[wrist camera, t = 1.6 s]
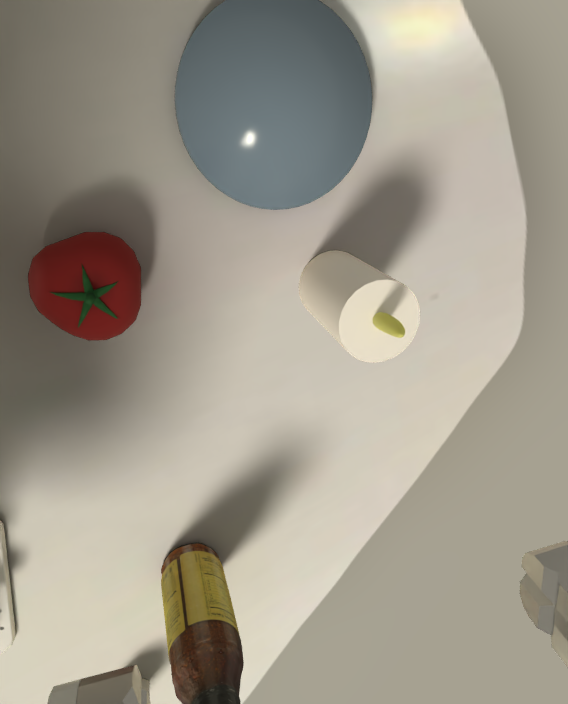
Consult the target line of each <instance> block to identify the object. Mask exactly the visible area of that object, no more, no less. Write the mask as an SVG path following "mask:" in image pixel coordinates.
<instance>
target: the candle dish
mask: <svg viewBox="0 0 568 704" xmlns="http://www.w3.org/2000/svg"><path fill="white" fill-rule="evenodd" d="M175 110H176V118H177V123H178V127H179V131H180V134H181V137H182V140H183V143H184V145H185V147H186V149H187V151H188V153H189V155H190V157H191V159H192V160H193V162H194V163H195V165H196V167H197V168H198V169H199V171H200V172H201V173H202V174H203V175H204V176H205V178H206V179H207V180H208V181H209V182H210V183H212V184H213V185H214V186H215V187H216V188H217V189H219V190H220V191H221V192H223V193H224V194H226V195H227V196H229V197H231V198H233V199H235V200H236V201H238V202H241V203H243V204H246V205H249V206H252V207H257V208H261V209H271V210H279V209H289V208H294V207H299V206H302V205H305V204H308V203H310V202H312V201H314V200H316V199H318V198H320V197H322V196H323V195H325V194H326V193H328V192H329V191H330V190H332V189H333V188H334V187H335V186H336V185H337V184H338V183H339V182H340V181H341V180H342V179H343V178H344V177H345V176H346V175H347V173H348V172H349V171H350V169H351V168H352V166H353V165H354V163H355V162H356V160H357V158H358V156H359V154H360V152H361V150H362V148H363V145H364V143H365V140H366V137H367V133H368V130H369V126H370V119H371V112H372V90H371V81H370V76H369V71H368V67H367V64H366V61H365V58H364V55H363V53H362V50H361V48H360V46H359V44H358V42H357V40H356V39H355V37H354V35H353V34H352V32H351V30H350V29H349V28H348V27H347V25H346V24H345V23H344V22H343V20H342V19H341V18H340V17H339V16H338V15H337V14H336V13H335V12H334V11H333V10H332V9H330V8H329V7H327V6H326V5H325V4H323V3H322V2H321V1H319V0H226V1H224V2H223V3H221V4H220V5H218V6H217V7H215V8H214V9H213V10H212V11H211V12H210V13H209V14H208V15H207V16H206V17H205V18H204V19H203V20H202V22H201V23H200V24H199V25H198V27H197V28H196V29H195V31H194V33H193V34H192V36H191V38H190V39H189V41H188V43H187V45H186V47H185V50H184V52H183V55H182V57H181V60H180V64H179V67H178V71H177V77H176V84H175Z"/></svg>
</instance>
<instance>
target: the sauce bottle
mask: <svg viewBox="0 0 568 704" xmlns="http://www.w3.org/2000/svg"><path fill="white" fill-rule="evenodd" d="M161 573H162V579H161V586H162V597H163V606H164V615H165V625H166V635H167V646H168V656H169V661H170V664H171V671H172V681H173V684H174V687H175V693H176V696H177V698H178V699H179V700H180V701H181V702H182V703H183V704H240V698H239V689H240V679H241V674H242V670H243V653H242V645H241V640H240V636H239V632H238V627H237V623H236V619H235V615H234V611H233V606H232V602H231V598H230V594H229V590H228V586H227V583H226V579H225V574H224V570H223V566H222V564H221V562H220V560H219V557H218V555H217V553H216V552H215V551H213V550H212V549H211V548H210V547H207V546H206V545H203V544H199V543H195V544H189V545H185V546H182V547H179V548H177V549H175V550H174V551H172V552H171V553H170V554H169V555H168V556H167V558H166V560H165V561H164V563H163V566H162V569H161Z"/></svg>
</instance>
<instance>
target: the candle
mask: <svg viewBox="0 0 568 704" xmlns="http://www.w3.org/2000/svg"><path fill="white" fill-rule="evenodd" d="M299 295H300V298H301V301H302V303H303V305H304V306H305V308H306V309H307V310H308V311H309V312H310V313H311V314H312V315H313V316H314V317H315V318H316V320H317V321H318V322H319V323H320V324H321V325H322V326H323V327H324V328H325V329H326V330H327V331H328V332H329V333H330V334H331V335H332V336H333V337H334V338H335V339H336V340H337V341H338V342H339V343H340V345H341V346H342V347H343V348H344V349H345V350H346V351H347V352H348V353H350V354H351V355H352V356H353V357H354V358H356V359H359V360H361V361H363V362H371V363H375V362H383V361H386V360H388V359H391V358H393V357H395V356H396V355H398V354H399V353H401V352H402V351H403V350H404V349H405V348H406V347H407V346H408V345H409V344H410V343H411V341H412V339H413V338H414V336H415V334H416V332H417V329H418V326H419V322H420V309H419V304H418V301H417V299H416V297H415V295H414V293H413V292H412V291H411V290H410V289H409V288H408V287H407V286H406V285H404V284H402V283H400V282H399V281H397V280H395V279H393V278H391V277H390V276H388V275H386V274H384V273H383V272H381V271H379V270H377V269H376V268H374V267H372V266H370V265H369V264H367V263H365V262H363V261H362V260H360V259H358V258H356V257H354V256H353V255H351V254H349V253H347V252H344V251H339V250H334V251H327V252H324V253H321V254H319V255H318V256H316V257H315V258H313V259H312V260H311V261H310V262H309V263H308V264H307V265H306V267H305V268H304V270H303V272H302V274H301V277H300V282H299Z"/></svg>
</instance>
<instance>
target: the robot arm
mask: <svg viewBox="0 0 568 704" xmlns="http://www.w3.org/2000/svg"><path fill="white" fill-rule="evenodd" d="M521 566H522V568H523V569H524V570H525V571H526V574H525V576H524V577H523V579H522V580H521V581H520V597H521V600H522V603H523V606H524V609H525V610H526V612H527V614H528V616H529V618H530V619H531V620H532V622H533V623H534V624H535V626H536V627H537V628H538V629H540V630H542V631H544V632H546V633H548V634H550V635H551V645H552V648H553V649H554V651H555V652H556V653H557V654H558V656H559V657H560V658H561V660H562V661H563V662H564V664H565V665H566V666H567V668H568V541H563V542H560V543H556V544H553V545H550V546H547V547H543V548H540V549H537V550H533V551H530V552H527V553H525V555H524V556H523V557H522V565H521ZM14 638H15V622H14V613H13V604H12V595H11V586H10V577H9V568H8V558H7V549H6V540H5V531H4V525H3V523H2V522H1V520H0V655H1V654H2V653H3V652H5V651H6V650H7V649H8V648H9V647H10V646H11V645H12V644H13V641H14ZM48 704H150V699H149V696H148V693H147V691H145V690H143V689H141V674H140V671H139V669H138V666H137V665H134V666H130V667H126V668H122V669H118V670H114V671H110V672H106V673H103V674H99V675H95V676H91V677H87V678H83V679H79V680H76V681H72V682H68V683H65V684H61V685H57V686H54V687H53V689H52V691H51V693H50V696H49V699H48Z"/></svg>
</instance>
